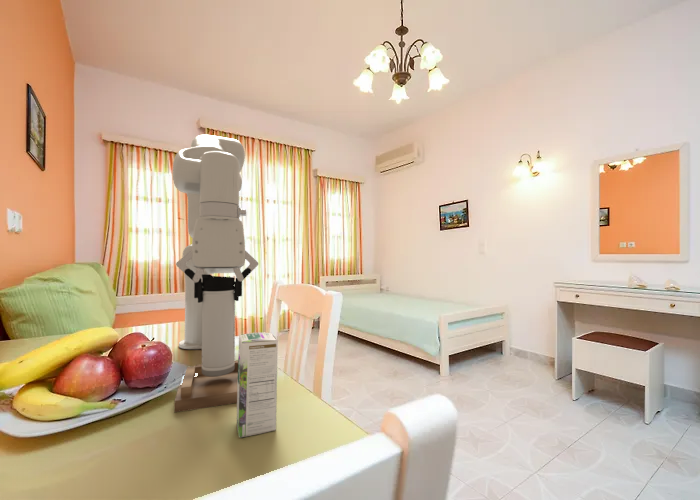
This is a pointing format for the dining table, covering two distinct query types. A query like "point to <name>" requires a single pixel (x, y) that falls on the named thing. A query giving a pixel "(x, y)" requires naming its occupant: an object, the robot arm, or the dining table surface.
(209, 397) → the stand
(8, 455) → the dining table surface
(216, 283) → the travel mug
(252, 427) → the syrup box
